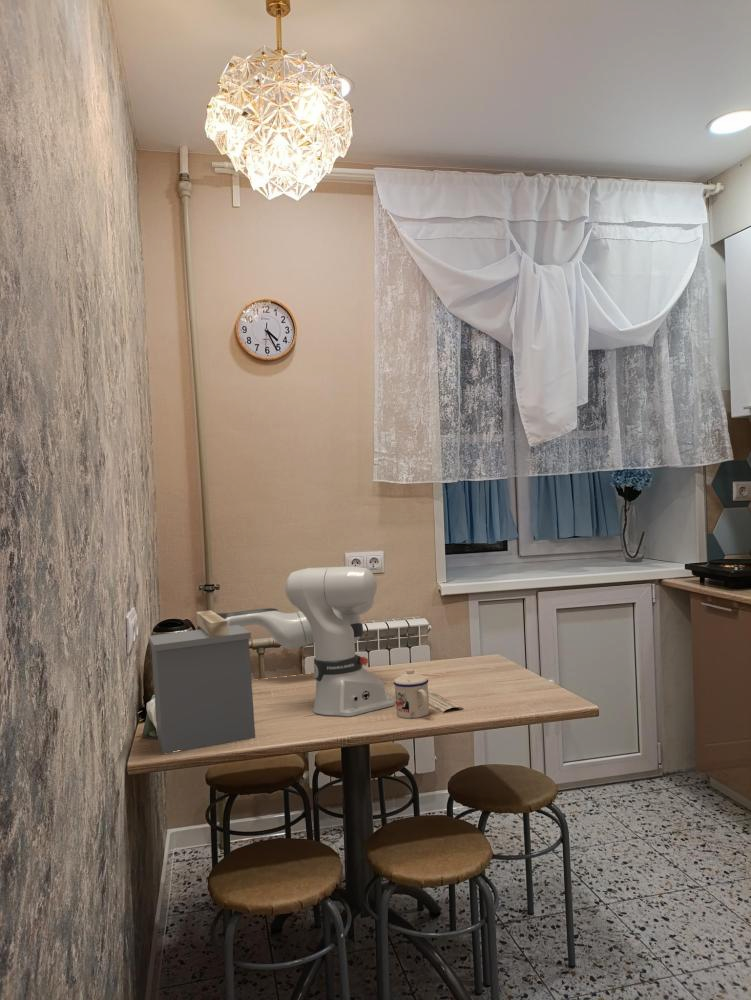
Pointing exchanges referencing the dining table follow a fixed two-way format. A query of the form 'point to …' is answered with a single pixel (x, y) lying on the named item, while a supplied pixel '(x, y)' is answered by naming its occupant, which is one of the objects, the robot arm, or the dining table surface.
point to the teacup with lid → (411, 695)
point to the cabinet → (202, 688)
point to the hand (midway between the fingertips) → (200, 633)
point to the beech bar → (212, 623)
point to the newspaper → (440, 702)
